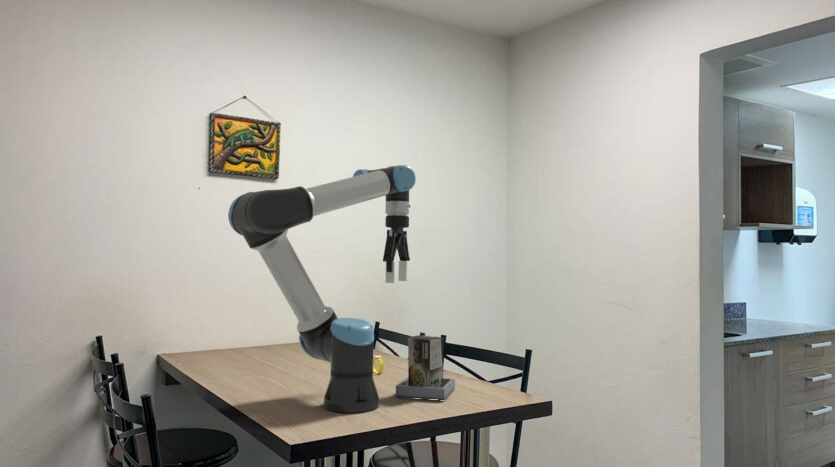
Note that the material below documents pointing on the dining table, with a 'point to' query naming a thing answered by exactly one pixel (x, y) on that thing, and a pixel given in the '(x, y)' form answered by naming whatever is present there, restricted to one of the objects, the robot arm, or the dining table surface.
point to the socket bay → (425, 390)
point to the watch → (380, 364)
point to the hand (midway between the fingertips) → (396, 282)
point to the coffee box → (425, 361)
